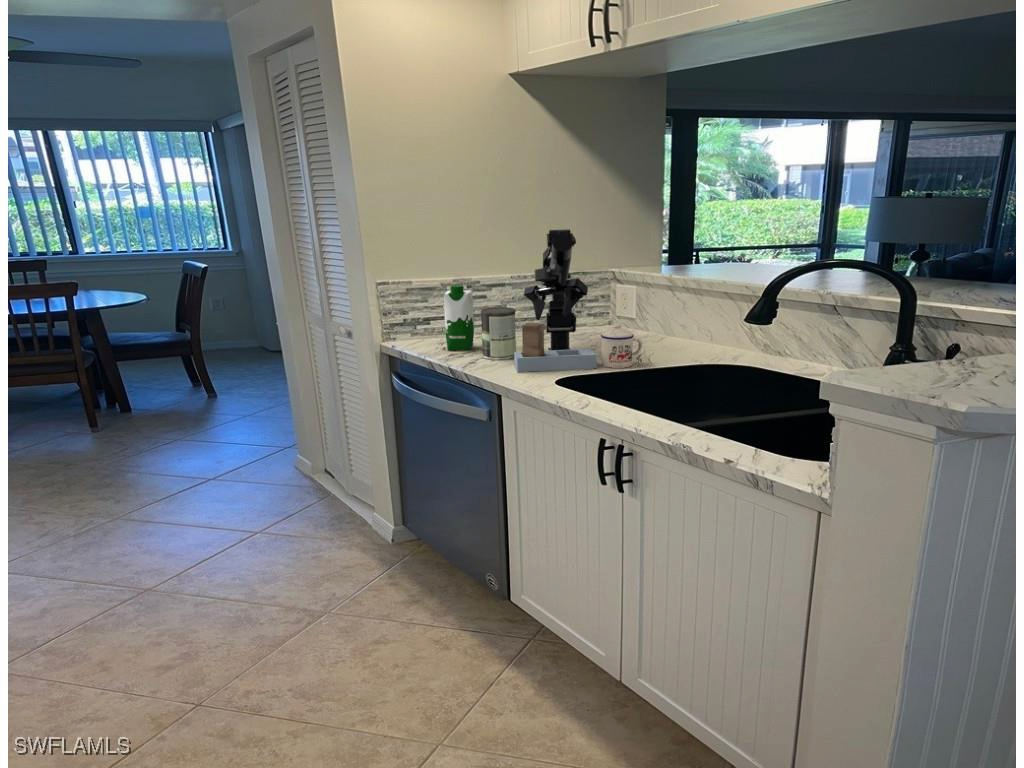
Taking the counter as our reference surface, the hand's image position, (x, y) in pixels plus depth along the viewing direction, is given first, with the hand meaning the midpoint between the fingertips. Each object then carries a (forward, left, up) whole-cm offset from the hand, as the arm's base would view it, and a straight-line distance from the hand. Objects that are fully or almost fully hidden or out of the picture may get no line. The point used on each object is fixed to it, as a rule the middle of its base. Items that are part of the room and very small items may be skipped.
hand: (550, 317), depth 216 cm
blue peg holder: (+5, 0, -13) cm, 14 cm away
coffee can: (-13, -14, -13) cm, 23 cm away
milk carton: (-27, -25, -13) cm, 39 cm away
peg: (+5, -6, -13) cm, 15 cm away
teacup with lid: (+5, +19, -13) cm, 24 cm away
